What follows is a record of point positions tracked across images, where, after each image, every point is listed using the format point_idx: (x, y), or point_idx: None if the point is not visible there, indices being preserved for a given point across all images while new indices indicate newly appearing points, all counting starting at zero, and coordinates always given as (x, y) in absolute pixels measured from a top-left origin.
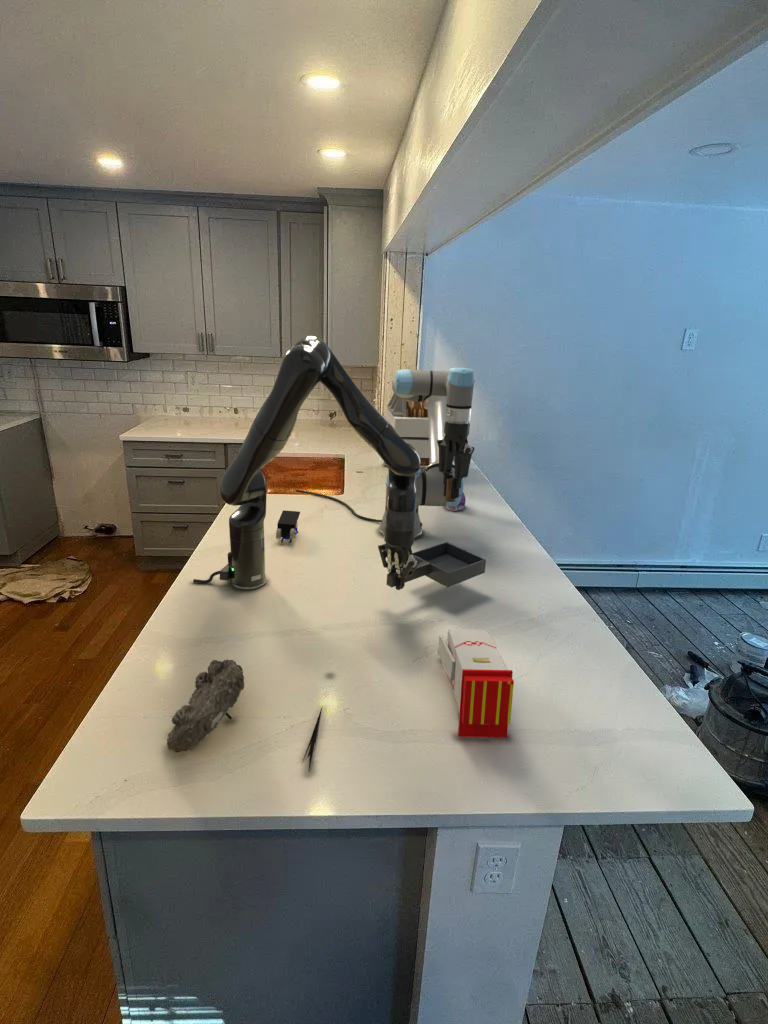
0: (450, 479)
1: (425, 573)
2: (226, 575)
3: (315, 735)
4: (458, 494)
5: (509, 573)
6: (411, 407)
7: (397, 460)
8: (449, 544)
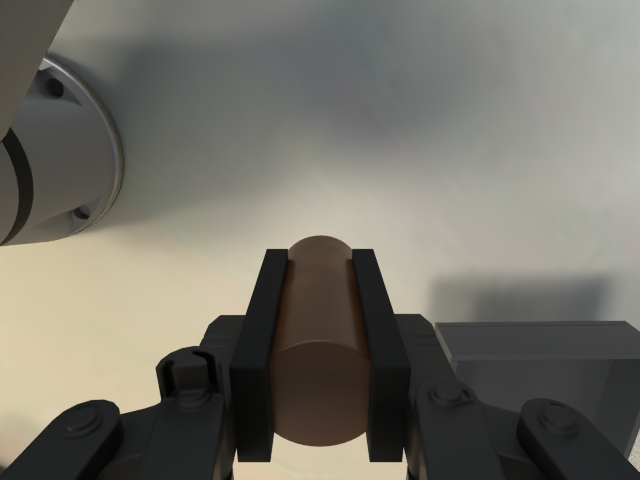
0: (327, 430)
1: None
2: None
3: None
4: (376, 262)
5: (575, 81)
6: None
7: None
8: (473, 358)
